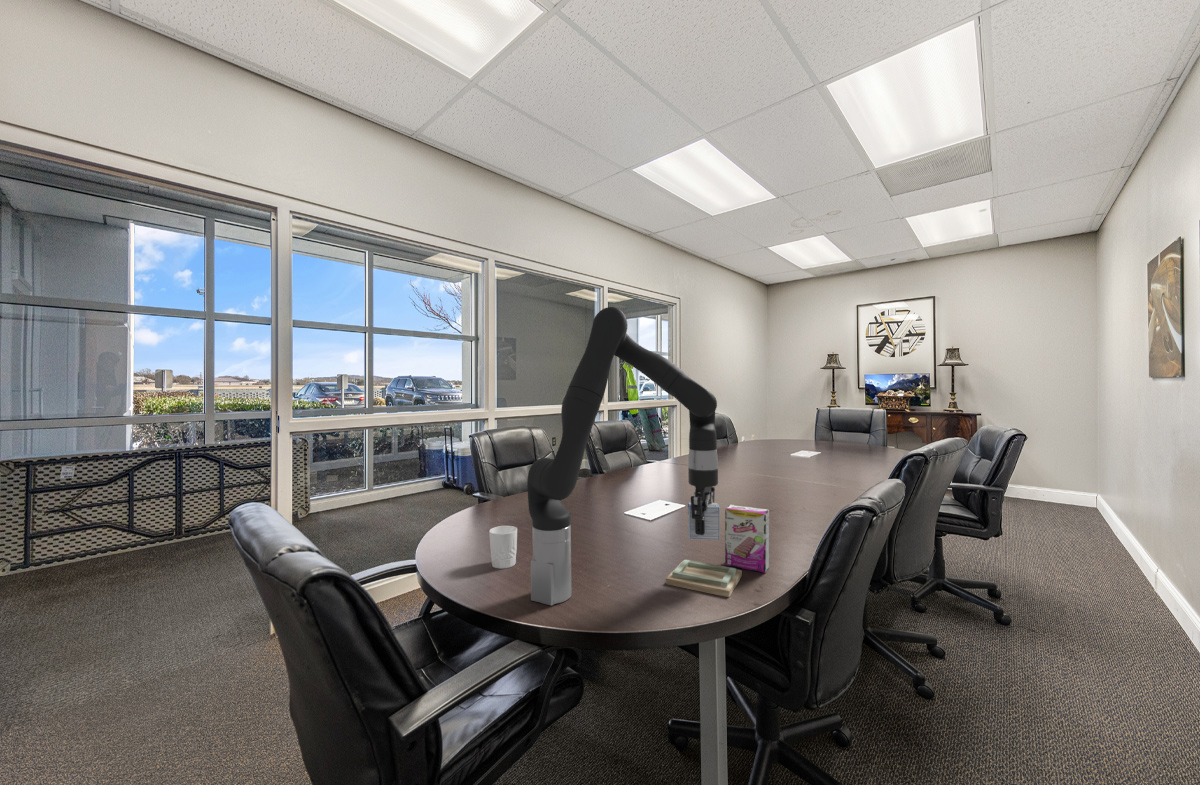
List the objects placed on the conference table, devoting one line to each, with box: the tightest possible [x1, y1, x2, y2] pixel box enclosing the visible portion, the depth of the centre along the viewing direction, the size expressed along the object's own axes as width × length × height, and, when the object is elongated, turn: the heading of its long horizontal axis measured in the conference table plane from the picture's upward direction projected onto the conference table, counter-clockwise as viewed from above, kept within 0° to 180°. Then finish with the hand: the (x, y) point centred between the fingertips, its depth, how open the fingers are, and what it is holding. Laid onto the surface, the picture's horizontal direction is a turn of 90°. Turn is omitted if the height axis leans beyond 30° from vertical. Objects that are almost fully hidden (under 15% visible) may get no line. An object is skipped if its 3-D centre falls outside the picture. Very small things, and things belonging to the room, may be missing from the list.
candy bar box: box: [724, 504, 770, 574], centre depth 128 cm, size 11×5×16 cm, turn 59°
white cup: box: [488, 525, 518, 570], centre depth 132 cm, size 8×8×10 cm
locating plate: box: [665, 559, 743, 598], centre depth 119 cm, size 14×16×2 cm
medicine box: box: [687, 502, 721, 541], centre depth 119 cm, size 8×4×9 cm, turn 83°
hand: (703, 530), depth 119 cm, fingers closed on medicine box, 5 cm apart
